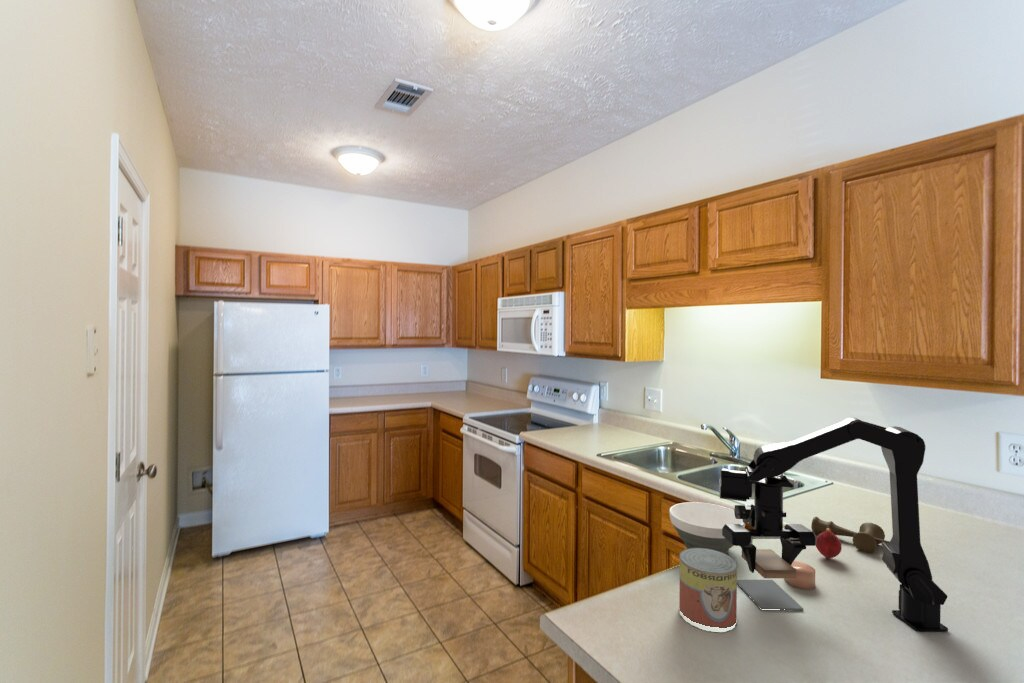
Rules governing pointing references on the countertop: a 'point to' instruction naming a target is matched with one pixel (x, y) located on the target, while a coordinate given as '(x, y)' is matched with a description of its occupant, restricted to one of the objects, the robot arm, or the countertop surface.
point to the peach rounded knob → (802, 576)
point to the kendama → (854, 534)
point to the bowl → (703, 524)
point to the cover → (772, 565)
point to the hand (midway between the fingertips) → (767, 572)
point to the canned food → (708, 587)
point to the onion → (828, 544)
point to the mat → (768, 595)
